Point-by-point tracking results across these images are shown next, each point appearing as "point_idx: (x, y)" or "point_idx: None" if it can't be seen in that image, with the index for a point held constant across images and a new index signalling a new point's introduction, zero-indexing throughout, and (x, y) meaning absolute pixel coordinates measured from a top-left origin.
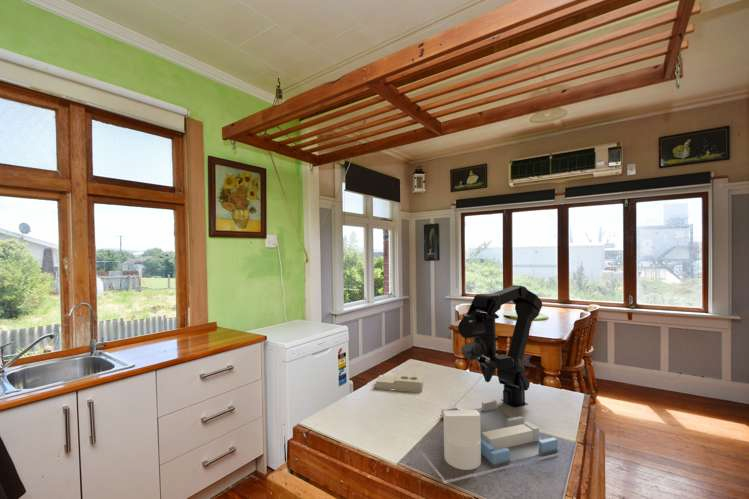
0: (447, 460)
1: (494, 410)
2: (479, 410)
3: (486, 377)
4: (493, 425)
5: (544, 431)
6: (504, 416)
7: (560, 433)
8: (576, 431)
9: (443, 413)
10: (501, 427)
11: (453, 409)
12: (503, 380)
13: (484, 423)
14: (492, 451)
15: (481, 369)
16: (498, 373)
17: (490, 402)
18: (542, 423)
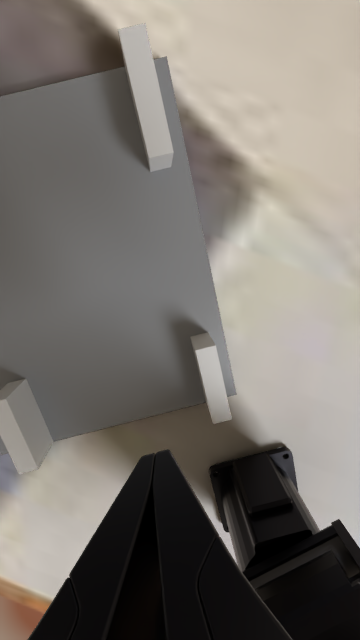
0: None
1: (189, 385)
2: (198, 316)
3: (122, 499)
4: (43, 327)
5: (21, 500)
6: (128, 406)
7: (9, 540)
8: (26, 588)
9: (121, 47)
10: (23, 355)
11: (141, 128)
12: (303, 566)
13: (61, 291)
14: None
15: (222, 557)
16: (355, 601)
17: (204, 389)
18: (83, 517)
